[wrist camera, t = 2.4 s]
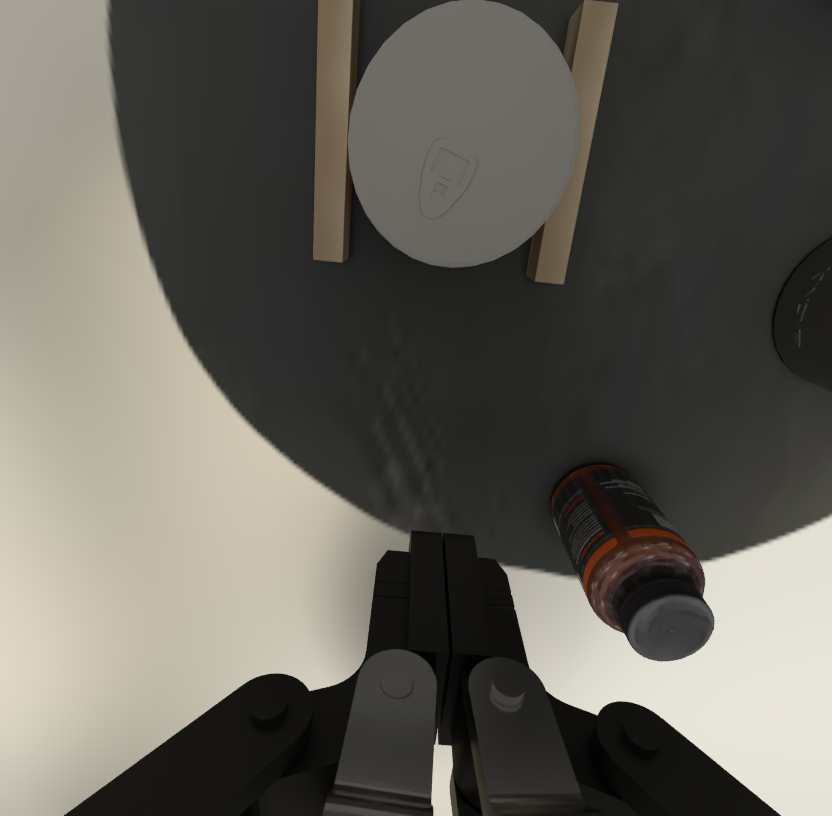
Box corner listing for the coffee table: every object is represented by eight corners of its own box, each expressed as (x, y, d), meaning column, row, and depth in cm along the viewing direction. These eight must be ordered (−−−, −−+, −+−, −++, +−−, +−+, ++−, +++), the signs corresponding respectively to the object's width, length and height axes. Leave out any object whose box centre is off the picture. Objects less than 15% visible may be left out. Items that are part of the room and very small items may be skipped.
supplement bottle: (545, 538, 35) (598, 679, 25) (551, 461, 33) (612, 579, 22) (632, 537, 35) (723, 678, 24) (644, 459, 33) (749, 578, 22)
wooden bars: (599, 23, 24) (618, 3, 22) (552, 278, 29) (563, 284, 26) (329, -7, 24) (318, -30, 22) (322, 255, 28) (313, 259, 26)
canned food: (366, 235, 28) (332, 250, 18) (387, 67, 25) (362, -30, 15) (502, 259, 28) (546, 287, 18) (537, 97, 26) (614, 21, 15)
